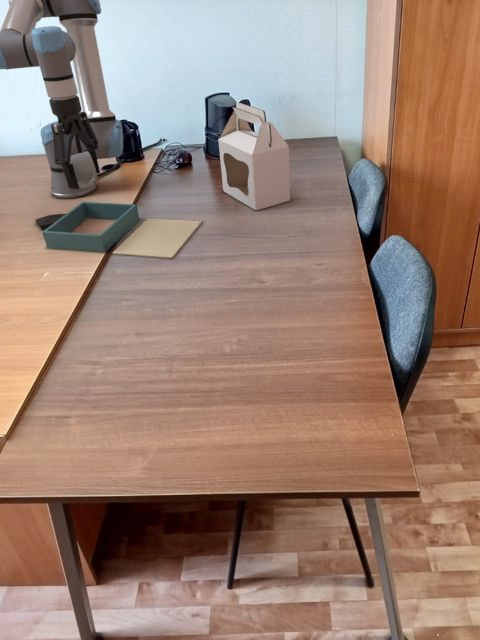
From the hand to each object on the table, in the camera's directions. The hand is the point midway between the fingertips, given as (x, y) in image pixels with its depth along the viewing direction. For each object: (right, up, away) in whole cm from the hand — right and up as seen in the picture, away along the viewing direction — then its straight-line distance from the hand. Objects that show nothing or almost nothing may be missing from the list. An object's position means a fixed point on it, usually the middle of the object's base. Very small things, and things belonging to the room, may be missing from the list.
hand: (85, 180), depth 151 cm
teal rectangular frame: (0, -13, +10) cm, 16 cm away
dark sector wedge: (-15, -8, +19) cm, 25 cm away
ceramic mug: (0, -1, 0) cm, 1 cm away
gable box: (+48, +3, +27) cm, 56 cm away
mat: (+20, -15, +5) cm, 26 cm away
